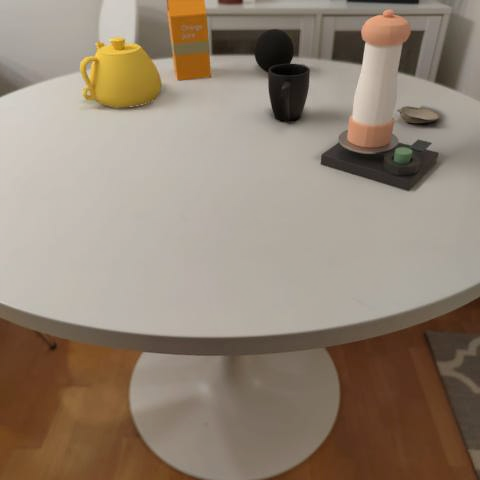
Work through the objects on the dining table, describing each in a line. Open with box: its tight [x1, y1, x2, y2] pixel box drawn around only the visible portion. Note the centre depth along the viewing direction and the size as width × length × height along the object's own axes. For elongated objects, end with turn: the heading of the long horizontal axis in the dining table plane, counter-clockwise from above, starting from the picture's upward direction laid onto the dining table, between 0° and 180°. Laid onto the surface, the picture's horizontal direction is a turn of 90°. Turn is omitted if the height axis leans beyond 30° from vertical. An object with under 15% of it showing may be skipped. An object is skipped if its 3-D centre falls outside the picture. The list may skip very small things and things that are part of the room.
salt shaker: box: [347, 9, 412, 148], centre depth 72 cm, size 7×7×19 cm
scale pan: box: [337, 129, 433, 154], centre depth 77 cm, size 14×10×1 cm
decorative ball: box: [253, 28, 295, 73], centre depth 116 cm, size 10×10×10 cm
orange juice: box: [166, 0, 212, 81], centre depth 114 cm, size 8×9×20 cm
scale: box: [320, 142, 440, 192], centre depth 78 cm, size 16×12×4 cm
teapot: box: [79, 36, 163, 108], centre depth 105 cm, size 20×19×13 cm
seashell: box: [396, 106, 440, 124], centre depth 92 cm, size 8×3×8 cm
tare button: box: [394, 147, 412, 164], centre depth 73 cm, size 3×3×2 cm
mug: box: [267, 63, 311, 123], centre depth 92 cm, size 8×12×10 cm
